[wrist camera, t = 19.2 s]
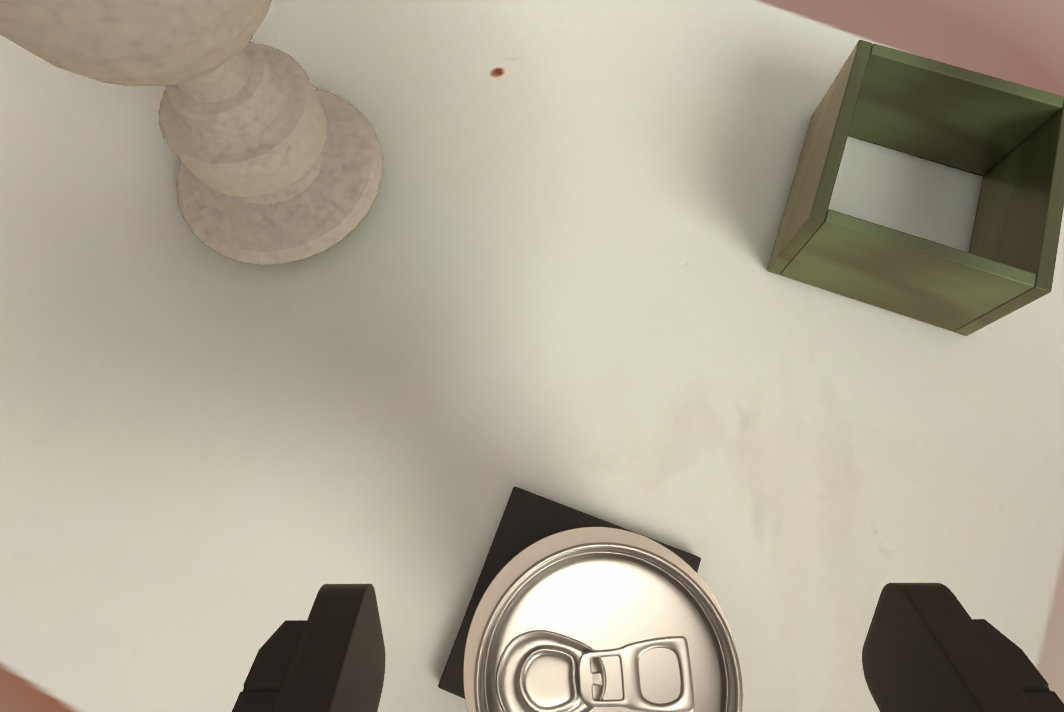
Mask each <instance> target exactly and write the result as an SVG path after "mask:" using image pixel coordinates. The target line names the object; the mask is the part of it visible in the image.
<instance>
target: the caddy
mask: <svg viewBox="0 0 1064 712" xmlns="http://www.w3.org/2000/svg"><path fill="white" fill-rule="evenodd" d="M848 135H849V136H852V137H855V138H859V139H862V140H866V141H869V142H872V143H876V144H879V145H882V146H886V147H889V148H892V149H896V150H899V151H902V152H906V153H909V154H913V155H916V156H919V157H923V158H926V159H929V160H933V161H936V162H939V163H943V164H946V165H950V166H953V167H956V168H960V169H963V170H966V171H970V172H973V173H976V174H980V175H984V179H983V184H982V189H981V194H980V199H979V205H978V210H977V215H976V220H975V225H974V230H973V236H972V241H971V246H970V251H969V253H967V252H964V251H961V250H958V249H955V248H951V247H948V246H945V245H942V244H939V243H935V242H932V241H929V240H926V239H922V238H919V237H916V236H913V235H910V234H906V233H903V232H900V231H897V230H894V229H890V228H887V227H884V226H881V225H878V224H874V223H871V222H868V221H865V220H862V219H858V218H855V217H852V216H849V215H846V214H842V213H839V212H836V211H833V210H828V206H829V203H830V199H831V195H832V192H833V188H834V184H835V181H836V177H837V173H838V170H839V166H840V162H841V159H842V155H843V151H844V148H845V144H846V140H847V136H848ZM1063 207H1064V97H1063V96H1060V95H1056V94H1052V93H1049V92H1045V91H1042V90H1038V89H1034V88H1031V87H1027V86H1024V85H1020V84H1017V83H1013V82H1010V81H1006V80H1002V79H999V78H995V77H992V76H988V75H984V74H981V73H977V72H973V71H970V70H967V69H963V68H960V67H956V66H952V65H949V64H945V63H942V62H938V61H935V60H931V59H927V58H924V57H920V56H917V55H913V54H909V53H906V52H902V51H899V50H895V49H892V48H888V47H884V46H881V45H877V44H873V45H872V43H870V42H866V41H863V40H859V41H858V43H857V44H856V46H855V48H854V49H853V51H852V53H851V54H850V56H849V57H848V59H847V61H846V62H845V64H844V66H843V67H842V69H841V70H840V72H839V74H838V75H837V77H836V78H835V80H834V82H833V83H832V85H831V87H830V88H829V90H828V91H827V93H826V95H825V96H824V98H823V99H822V101H821V103H820V104H819V106H818V108H817V109H816V111H815V112H814V114H813V116H812V119H811V123H810V126H809V130H808V133H807V136H806V140H805V143H804V147H803V150H802V153H801V157H800V160H799V164H798V167H797V170H796V174H795V177H794V181H793V184H792V187H791V191H790V194H789V198H788V201H787V204H786V208H785V211H784V215H783V218H782V221H781V225H780V228H779V232H778V235H777V238H776V242H775V245H774V249H773V252H772V256H771V259H770V262H769V266H768V271H770V272H774V273H777V274H780V275H783V276H786V277H789V278H792V279H795V280H798V281H801V282H804V283H807V284H810V285H813V286H816V287H819V288H823V289H826V290H829V291H832V292H835V293H838V294H841V295H844V296H847V297H850V298H853V299H856V300H859V301H862V302H865V303H868V304H872V305H875V306H878V307H881V308H884V309H887V310H890V311H893V312H896V313H899V314H902V315H905V316H908V317H911V318H914V319H917V320H921V321H924V322H927V323H930V324H933V325H936V326H939V327H942V328H945V329H948V330H951V331H954V332H957V333H960V334H963V335H966V336H967V335H969V334H971V333H973V332H975V331H977V330H979V329H981V328H983V327H985V326H986V325H988V324H990V323H992V322H994V321H996V320H998V319H1000V318H1002V317H1004V316H1006V315H1008V314H1010V313H1011V312H1013V311H1015V310H1017V309H1019V308H1021V307H1023V306H1025V305H1027V304H1029V303H1031V302H1033V301H1034V300H1036V299H1038V298H1040V297H1042V296H1044V295H1046V294H1048V293H1050V292H1051V288H1052V281H1053V275H1054V268H1055V261H1056V254H1057V248H1058V241H1059V234H1060V227H1061V221H1062V214H1063ZM827 210H828V211H827Z"/></svg>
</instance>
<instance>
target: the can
mask: <svg viewBox="0 0 1064 712" xmlns="http://www.w3.org/2000/svg"><path fill="white" fill-rule="evenodd" d="M464 692H465V700H466V705H467V710H468V712H742V699H743V694H742V678H741V671H740V665H739V660H738V656H737V652H736V648H735V644H734V640H733V637H732V633H731V631H730V628H729V625H728V622H727V620H726V618H725V615H724V613H723V611H722V609H721V607H720V605H719V603H718V602H717V600H716V598H715V597H714V595H713V594H712V592H711V591H710V589H709V588H708V586H707V585H706V584H705V582H704V581H703V580H702V579H701V577H700V576H699V575H698V574H697V573H696V572H695V571H694V570H693V569H692V568H691V567H690V566H689V565H688V564H687V563H686V562H685V561H683V560H682V559H681V558H680V557H679V556H677V555H676V554H675V553H673V552H672V551H670V550H669V549H667V548H666V547H664V546H662V545H660V544H659V543H657V542H655V541H653V540H651V539H649V538H647V537H644V536H642V535H639V534H636V533H633V532H629V531H626V530H621V529H616V528H608V527H584V528H576V529H571V530H567V531H563V532H559V533H556V534H553V535H550V536H548V537H546V538H543V539H541V540H539V541H537V542H535V543H534V544H532V545H530V546H529V547H527V548H526V549H524V550H523V551H522V552H520V553H519V554H518V555H516V556H515V557H514V558H513V559H512V560H511V561H510V562H509V563H508V564H507V565H506V566H505V567H504V568H503V569H502V570H501V571H500V572H499V573H498V575H497V576H496V577H495V578H494V580H493V581H492V582H491V584H490V585H489V587H488V588H487V590H486V592H485V593H484V595H483V597H482V599H481V601H480V603H479V605H478V607H477V609H476V612H475V614H474V617H473V620H472V623H471V626H470V629H469V633H468V637H467V642H466V648H465V656H464Z"/></svg>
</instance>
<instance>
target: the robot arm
mask: <svg viewBox="0 0 1064 712" xmlns="http://www.w3.org/2000/svg"><path fill="white" fill-rule="evenodd" d="M862 663H863V671H864V675H865V679H866V682H867V685H868V688H869V690H870V692H871V694H872V696H873V698H874V700H875V702H876V704H877V706H878V708H879V710H880V712H1064V704H1063V703H1062V701H1061V700H1060V699H1059V697H1058V696H1057V695H1056V693H1055V692H1053V691H1050V690H1049V688H1048V683H1047V682H1046V681H1045V679H1044V678H1043V677H1042V675H1041V674H1040V673H1039V671H1038V670H1037V669H1036V668H1035V666H1034V665H1033V664H1032V662H1031V661H1030V660H1029V659H1028V657H1027V656H1026V655H1025V653H1024V652H1023V651H1022V649H1020V648H1019V647H1018V646H1017V645H1015V644H1014V643H1013V642H1012V641H1010V640H1009V639H1008V638H1007V637H1006V636H1004V635H1003V634H1002V633H1001V632H999V631H998V630H997V629H996V628H994V627H993V626H992V625H991V624H989V623H988V622H987V621H986V620H984V619H973V620H972V619H971V617H970V616H969V615H968V613H967V612H966V611H965V609H964V608H963V606H962V605H961V604H960V602H959V601H958V600H957V598H956V597H955V595H954V594H953V593H952V592H951V591H950V590H949V589H948V588H947V587H946V586H945V585H943V584H940V583H889V584H887V585H885V586H884V588H883V590H882V592H881V595H880V598H879V601H878V604H877V607H876V610H875V613H874V616H873V619H872V622H871V625H870V628H869V631H868V634H867V637H866V640H865V643H864V646H863V652H862ZM384 673H385V647H384V641H383V635H382V629H381V624H380V618H379V612H378V607H377V601H376V595H375V590H374V587H373V585H372V584H324V585H323V586H322V587H321V588H320V590H319V592H318V594H317V596H316V599H315V602H314V604H313V607H312V609H311V612H310V615H309V617H308V620H307V621H285V622H284V623H283V624H282V625H281V626H280V627H279V628H278V629H277V631H276V632H275V633H274V634H273V635H272V636H271V637H270V638H269V640H268V641H267V642H266V643H265V644H264V645H263V646H262V647H261V648H260V650H259V651H258V653H257V656H256V658H255V660H254V663H253V665H252V667H251V669H250V672H249V674H248V676H247V678H246V681H245V683H244V689H243V692H240V694H239V697H238V699H237V701H236V704H235V706H234V708H233V710H232V712H377V710H378V706H379V701H380V697H381V693H382V688H383V681H384Z"/></svg>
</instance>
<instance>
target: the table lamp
mask: <svg viewBox="0 0 1064 712" xmlns="http://www.w3.org/2000/svg"><path fill="white" fill-rule="evenodd" d="M271 1H272V0H0V34H1V35H3V36H4V37H6V38H8V39H9V40H11V41H13V42H14V43H16V44H18V45H19V46H21V47H23V48H25V49H26V50H28V51H30V52H32V53H33V54H35V55H37V56H39V57H40V58H42V59H44V60H45V61H47V62H49V63H51V64H52V65H54V66H56V67H59V68H62V69H65V70H68V71H71V72H74V73H77V74H80V75H83V76H86V77H89V78H92V79H95V80H98V81H101V82H104V83H112V84H119V85H126V86H153V85H165V87H166V90H165V92H164V95H163V97H162V100H161V104H160V110H159V122H160V128H161V131H162V134H163V137H164V139H165V140H166V142H167V144H168V145H169V147H170V148H171V149H172V150H173V152H174V153H175V154H176V155H177V156H178V157H179V158H180V160H181V162H180V169H179V175H178V181H177V188H178V201H179V204H180V207H181V210H182V214H183V217H184V219H185V220H186V222H187V223H188V225H189V227H190V228H191V230H192V232H193V233H194V234H195V235H196V236H197V237H198V238H199V239H200V240H201V241H202V242H203V243H204V244H205V245H207V246H208V247H210V248H211V249H213V250H215V251H216V252H218V253H219V254H221V255H223V256H226V257H229V258H232V259H234V260H237V261H240V262H246V263H253V264H259V265H266V264H284V263H289V262H293V261H298V260H303V259H305V258H308V257H310V256H313V255H315V254H318V253H320V252H323V251H324V250H326V249H328V248H329V247H331V246H333V245H334V244H336V243H338V242H339V241H341V240H342V239H343V238H344V237H345V236H346V235H348V234H349V233H350V232H351V231H352V230H353V229H354V228H356V227H357V225H358V224H359V223H360V221H361V220H362V219H363V218H364V216H365V215H366V214H367V213H368V211H369V209H370V207H371V205H372V203H373V201H374V200H375V198H376V196H377V193H378V189H379V186H380V182H381V178H382V163H383V159H382V153H381V148H380V143H379V141H378V138H377V136H376V134H375V132H374V129H373V127H372V126H371V125H370V123H369V122H368V121H367V119H366V118H365V117H364V115H363V114H362V113H360V112H359V111H358V110H357V109H356V108H355V107H353V106H352V105H351V104H350V103H348V102H346V101H345V100H343V99H341V98H339V97H337V96H335V95H333V94H330V93H327V92H325V91H321V90H318V89H314V88H313V87H312V85H311V83H310V81H309V79H308V77H307V75H306V73H305V72H304V70H303V69H302V68H301V66H300V65H299V64H298V63H297V62H296V61H295V60H294V59H293V58H291V57H290V56H289V55H287V54H285V53H284V52H282V51H280V50H278V49H275V48H272V47H269V46H266V45H261V44H253V43H251V42H250V39H251V38H252V36H253V35H254V33H255V31H256V30H257V28H258V27H259V25H260V24H261V22H262V20H263V19H264V17H265V15H266V13H267V11H268V9H269V6H270V3H271Z"/></svg>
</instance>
